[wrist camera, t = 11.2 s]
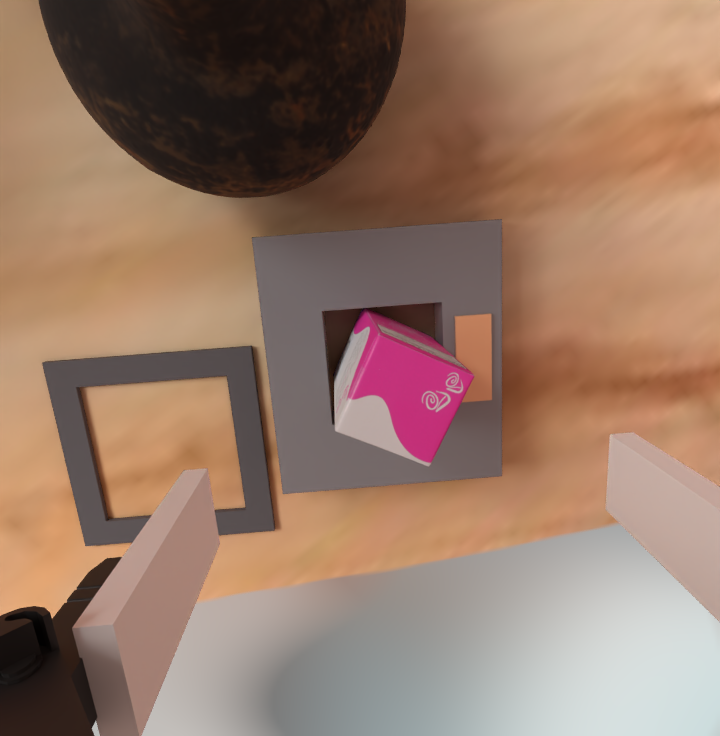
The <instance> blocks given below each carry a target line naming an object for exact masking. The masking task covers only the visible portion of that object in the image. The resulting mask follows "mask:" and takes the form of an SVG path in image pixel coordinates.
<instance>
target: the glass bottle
mask: <svg viewBox="0 0 720 736" xmlns="http://www.w3.org/2000/svg"><path fill="white" fill-rule="evenodd" d="M39 5H40V9H41V14H42V17H43V21H44V24H45V28H46V30H47V33H48V37H49V40H50V42H51V45H52V48H53V50H54V53H55V55H56V57H57V60H58V62H59V64H60V66H61V68H62V70H63V72H64V74H65V76H66V78H67V80H68V82H69V83H70V85H71V87H72V89H73V90H74V92H75V94H76V95H77V97H78V98H79V99H80V101H81V103H82V104H83V106H84V107H85V108H86V110H87V111H88V113H89V114H90V115H91V116H92V117H93V119H94V120H95V121H96V122H97V123H98V125H99V126H100V127H101V128H102V129H103V130H104V131H105V132H106V133H107V134H108V135H109V136H110V137H111V138H112V139H113V140H114V141H115V142H116V143H117V144H118V145H119V146H120V147H121V148H122V149H124V150H125V151H126V152H127V153H128V154H129V155H131V156H132V157H133V158H134V159H136V160H137V161H139V162H140V163H141V164H142V165H144V166H145V167H146V168H148V169H149V170H151V171H153V172H155V173H156V174H158V175H161V176H163V177H165V178H167V179H168V180H171V181H173V182H175V183H178V184H180V185H182V186H185V187H188V188H190V189H193V190H197V191H200V192H203V193H208V194H213V195H217V196H225V197H236V198H250V197H262V196H269V195H274V194H279V193H282V192H286V191H289V190H292V189H295V188H298V187H300V186H303V185H305V184H307V183H309V182H311V181H313V180H315V179H317V178H318V177H319V176H321V175H323V174H324V173H326V172H327V171H328V170H330V169H331V168H332V167H334V166H335V165H336V164H337V163H339V162H340V161H341V160H342V159H343V158H344V157H345V156H346V155H347V154H348V153H349V152H350V151H351V150H352V149H353V148H354V147H355V146H356V145H357V144H358V142H359V141H360V140H361V139H362V138H363V137H364V135H365V134H366V132H367V131H368V129H369V128H370V127H371V126H372V123H373V121H374V120H375V118H376V116H377V115H378V113H379V111H380V109H381V107H382V105H383V104H384V101H385V99H386V96H387V94H388V92H389V89H390V87H391V85H392V81H393V78H394V76H395V73H396V69H397V66H398V62H399V57H400V53H401V46H402V41H403V36H404V26H405V12H406V0H39Z"/></svg>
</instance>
